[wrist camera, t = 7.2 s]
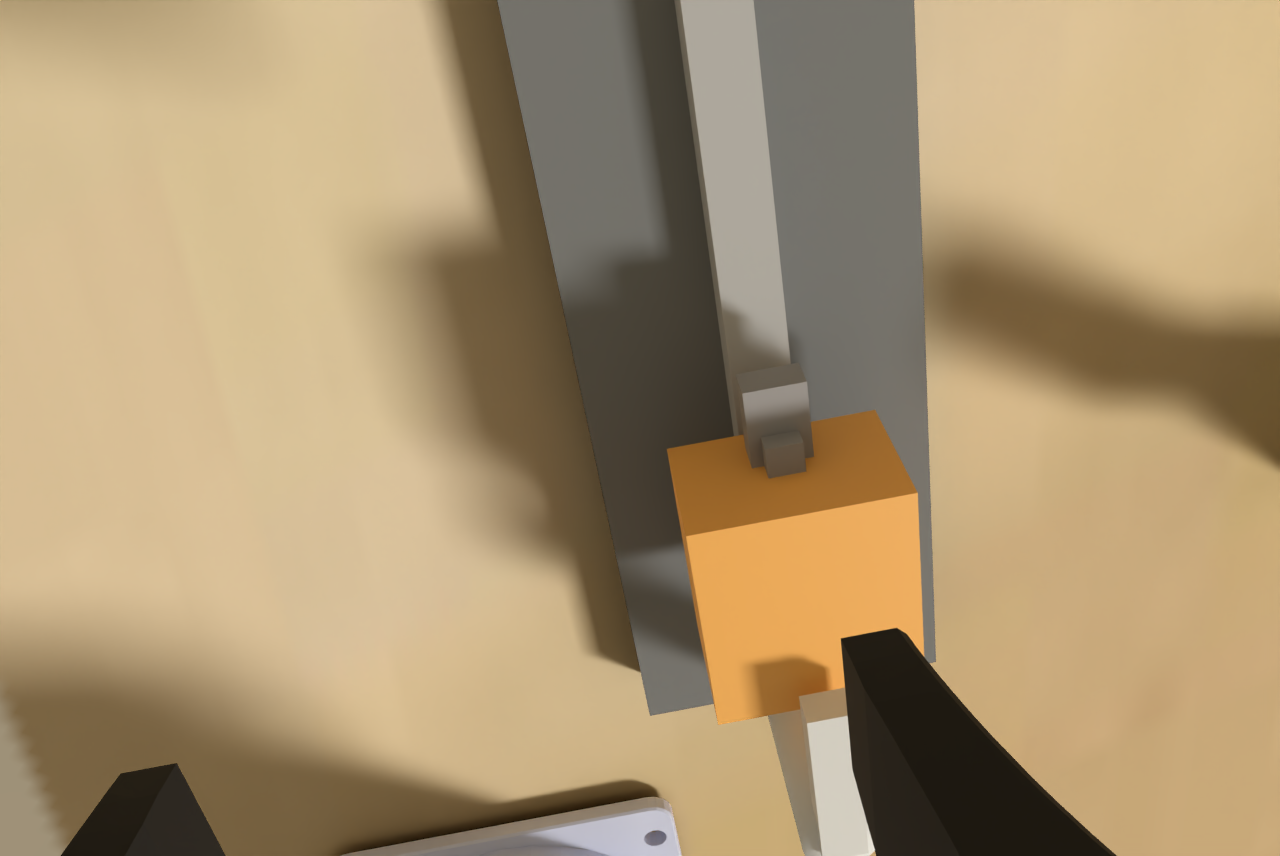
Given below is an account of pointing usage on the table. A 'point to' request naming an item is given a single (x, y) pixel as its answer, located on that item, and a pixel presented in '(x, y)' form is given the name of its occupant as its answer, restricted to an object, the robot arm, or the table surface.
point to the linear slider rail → (730, 279)
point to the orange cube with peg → (794, 545)
